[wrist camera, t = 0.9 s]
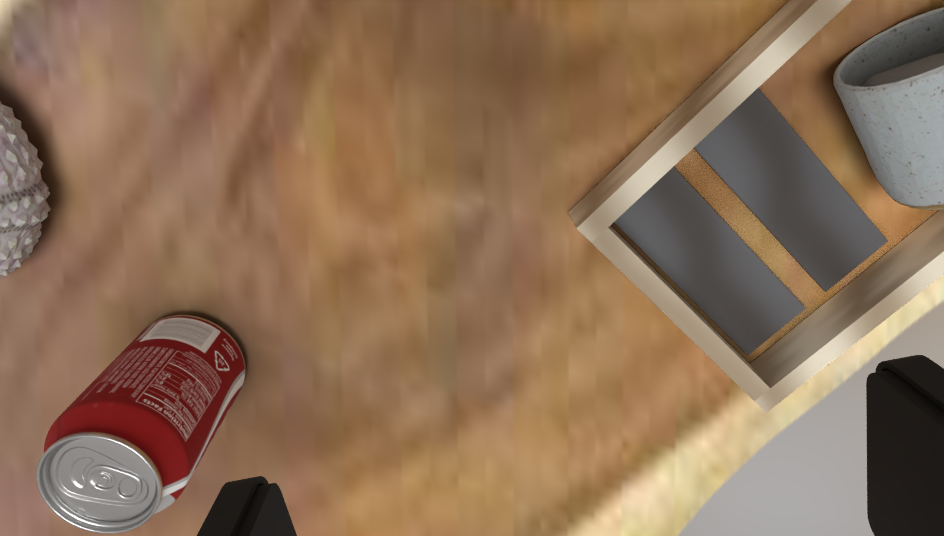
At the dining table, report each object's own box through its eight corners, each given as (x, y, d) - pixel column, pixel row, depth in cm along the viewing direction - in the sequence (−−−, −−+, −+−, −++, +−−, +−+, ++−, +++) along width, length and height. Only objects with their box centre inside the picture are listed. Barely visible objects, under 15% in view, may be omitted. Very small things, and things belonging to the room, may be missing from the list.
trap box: (1067, -266, 31) (1128, -294, 28) (1221, 6, 36) (1286, 5, 33) (567, 212, 39) (576, 228, 36) (746, 386, 43) (766, 412, 41)
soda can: (155, 293, 40) (39, 402, 29) (263, 334, 41) (192, 455, 30) (126, 382, 42) (7, 516, 31) (229, 420, 43) (151, 562, 32)
